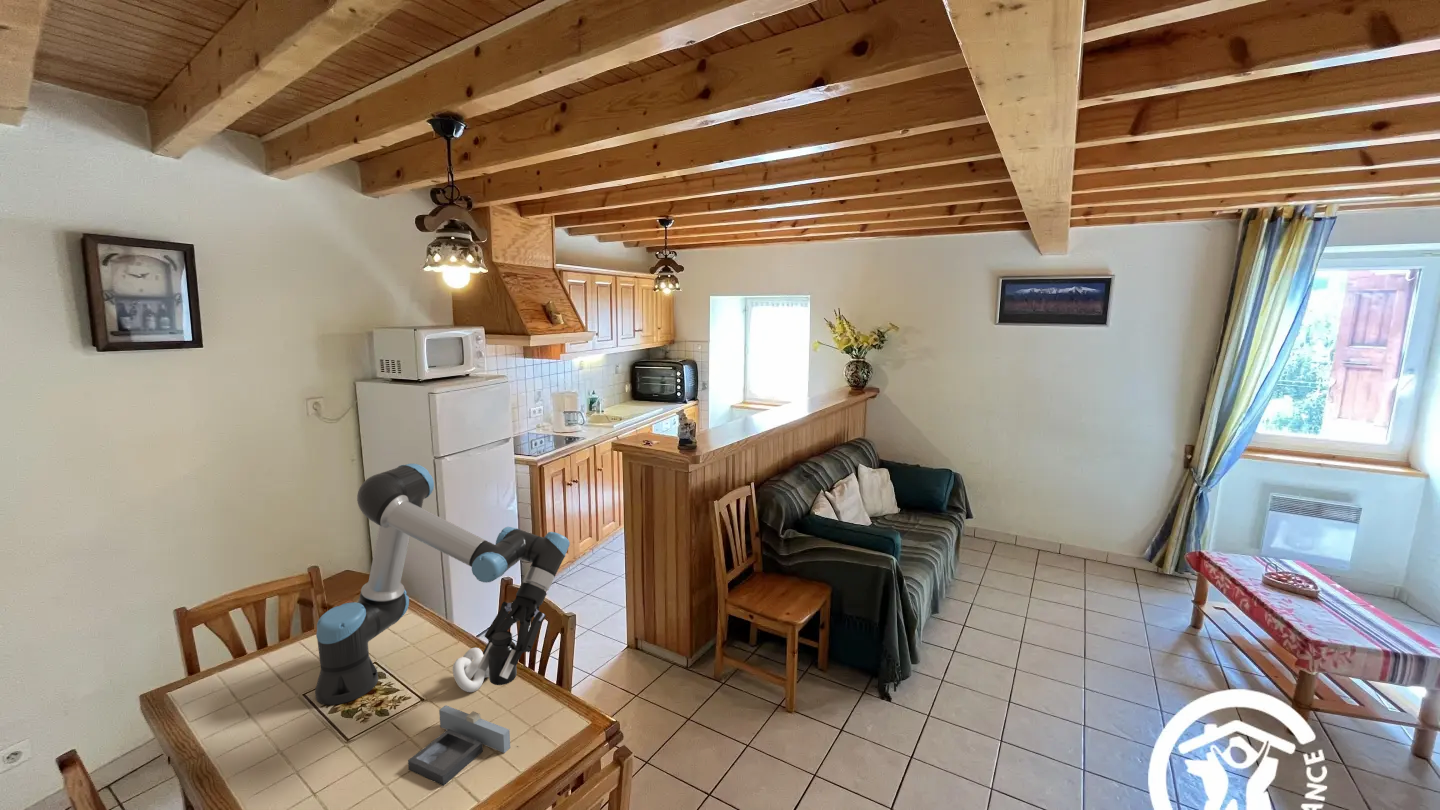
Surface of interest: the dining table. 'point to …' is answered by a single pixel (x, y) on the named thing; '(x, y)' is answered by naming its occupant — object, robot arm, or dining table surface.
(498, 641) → the supplement bottle
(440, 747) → the keeper frame
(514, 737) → the dining table surface
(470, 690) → the white trefoil knot
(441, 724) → the door edge plank
